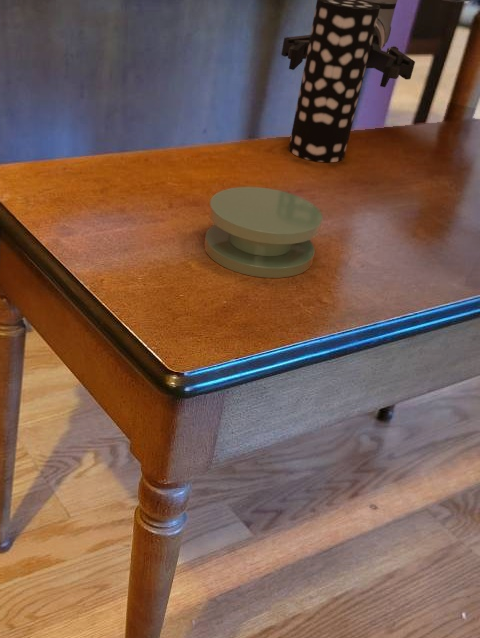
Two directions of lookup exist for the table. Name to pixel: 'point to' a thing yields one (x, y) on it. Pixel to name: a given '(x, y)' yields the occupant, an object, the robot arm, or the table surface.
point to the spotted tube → (332, 78)
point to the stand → (262, 232)
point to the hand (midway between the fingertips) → (338, 68)
